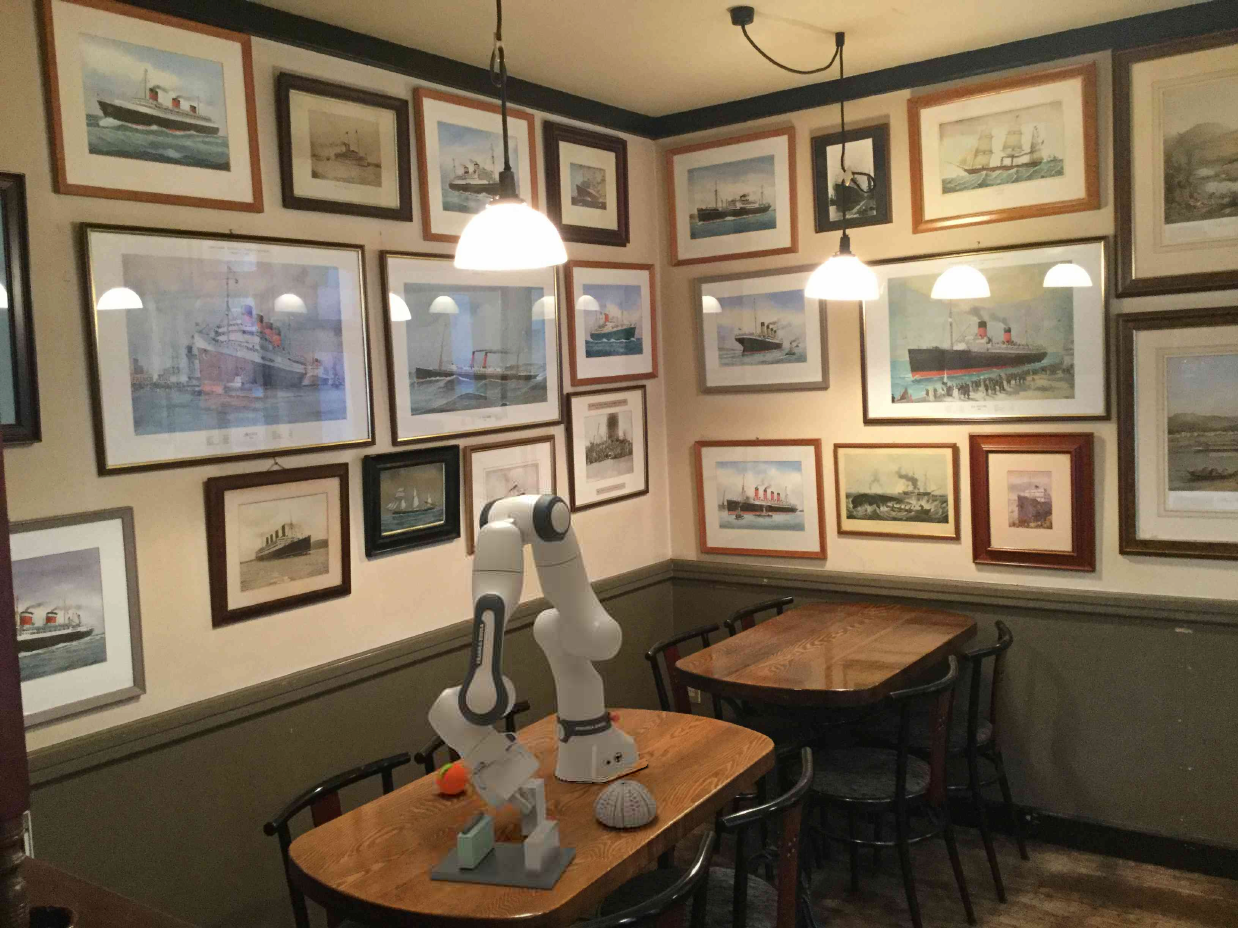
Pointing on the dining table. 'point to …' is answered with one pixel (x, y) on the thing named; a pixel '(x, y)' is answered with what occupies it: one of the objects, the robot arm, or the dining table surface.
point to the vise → (514, 862)
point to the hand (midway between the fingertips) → (535, 803)
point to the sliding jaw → (475, 840)
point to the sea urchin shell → (625, 805)
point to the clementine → (452, 778)
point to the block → (536, 796)
